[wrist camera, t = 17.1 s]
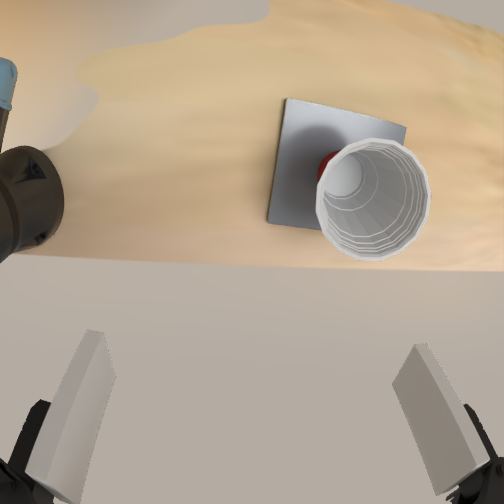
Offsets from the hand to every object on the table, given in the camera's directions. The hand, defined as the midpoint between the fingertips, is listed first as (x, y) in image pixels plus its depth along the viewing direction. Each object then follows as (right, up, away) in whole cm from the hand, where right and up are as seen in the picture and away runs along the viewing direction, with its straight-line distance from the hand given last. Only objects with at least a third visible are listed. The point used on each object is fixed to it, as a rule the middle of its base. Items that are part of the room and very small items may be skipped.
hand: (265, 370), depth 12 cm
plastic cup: (+10, +14, +23) cm, 29 cm away
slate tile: (+10, +15, +24) cm, 29 cm away
